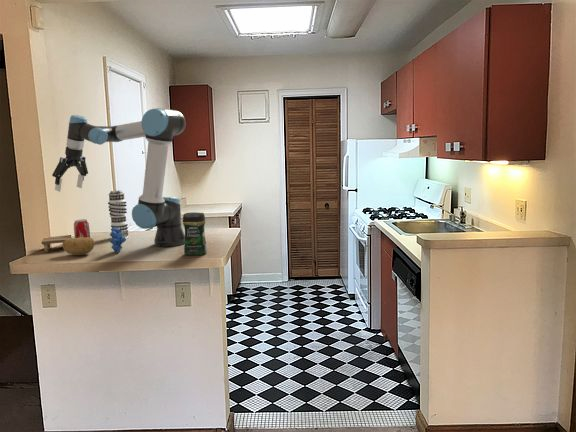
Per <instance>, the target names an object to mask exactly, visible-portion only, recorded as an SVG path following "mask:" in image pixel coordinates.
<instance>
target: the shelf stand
mask: <svg viewBox="0 0 576 432" xmlns="http://www.w3.org/2000/svg"><path fill="white" fill-rule="evenodd" d="M47 237H48V238H44V237H43V238H42V241H41V245H43V250H44V253H49V252H50V250H49V249H51V245H52V244H63V242H64V241H65V240H67V239H71V238H72V235H71V234H69V235H68V234H66V235H57V236H56V235H55V236H47Z"/></svg>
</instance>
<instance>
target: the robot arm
mask: <svg viewBox="0 0 576 432" xmlns="http://www.w3.org/2000/svg"><path fill="white" fill-rule="evenodd" d="M186 125H187V122H186V118H185V116H184V115H183V114H182V112H180V111H178V110H175V109H168V108H162V107H161V108H150V109H148V110H147V111H145V113H144V114H143V115H142V118H141V121H140V120H139V121H136V122H130V123H129V122H128V123H123V124H118V125H111V126H106V125H105V126H102V125H101V126H100V125H97V126H96V125H93V124H90V123H88V118H87V117H86V116H84V115H78V114H72V115H70V118H69V122H68V129H67V130H68V131H67V137H66V146H65V152H64V154H65V157H59V161H58V163H57V165H56V167H55V169H54V171H53V172H52V174H51V177H54V178H55V182H54V184H55V187H54V191H57V192H58V193H60V192H61V189H62V184H63V178H62V177H63V176H64V174H65V173H66V172H67V170H68V169H70V168H71V167H75V168H76V170H77V171H78V173H79V174H78V175H77V183H76V187H77V188H80V189H83V184H84V183H83V182H84V181H85V180H84V179H85V177H86V176H87V175H88V174H89V171H88V167H87V166H88V165H87V163H86V157H85V156H83V151H84V150H83V149H84V145H85V141H88V142H89V143H90V142H91V143H92V144H95V145H101V146H102V145H104V144H105V143H119V142H123V141H127V140H133V139H139V138H145V140H146V141H147V151H146V152H147V153H146V159H145V169H144V179H143V187H142V188H143V189H142V194H141V195H139V197H138V202H137V204H135V206H133V207H132V211H131V218H132V220H133V222H134V224H135V225H136V226H137V227H138V228H140V229H144V230H147V229H153V228H155V227H156V232H155V236H154V241H153V243H154V245H155V246H156V247H162V248H163V247H177V246H181V245H185V231H184V230H183V227H182V216H181V215H182V214H181V202H180V201H181V200H180V198H179V197H176V196H175V197H172V196H171V197H168V196H166V197H165V196H164V197H163V192H164V191H163V190H164V184H165V176H166V168H167V167H166V166H167V159H168V151H169V145H170V144H172V143H173V140H174V139H173V138H174V137H175V136H178V135H180V134H181V133H183V132H184V131H185V129H186Z"/></svg>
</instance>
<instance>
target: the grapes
mask: <svg viewBox="0 0 576 432" xmlns="http://www.w3.org/2000/svg"><path fill="white" fill-rule="evenodd" d="M111 229H112V228H111ZM111 229H110V234H109V236H110V237H111V239H110V241H109V242H110V243H111V249H113V251H114V252H115V253H117V254H118V253H120V251H122V249H123V246H122V244H123V243H125V242H126V240H127V238H126V239H125V237H123V235H122V234H121V233H120V229H118V228H116V227H114V228H113V229H112V230H111Z"/></svg>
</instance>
